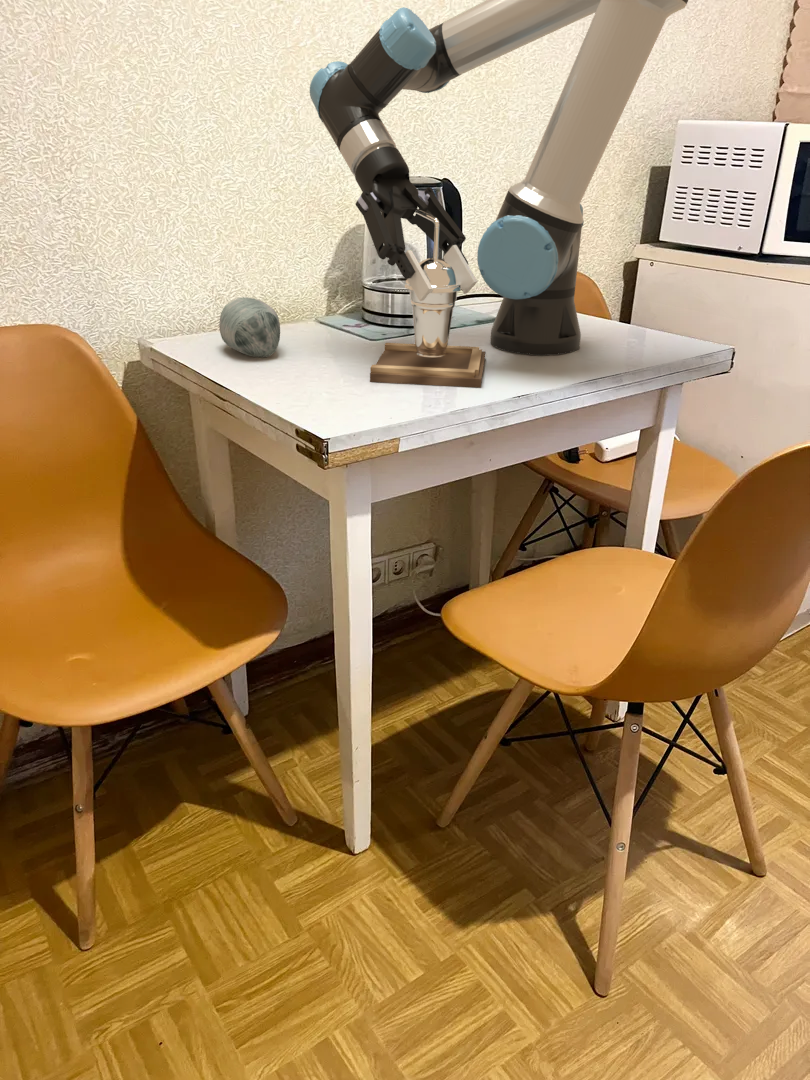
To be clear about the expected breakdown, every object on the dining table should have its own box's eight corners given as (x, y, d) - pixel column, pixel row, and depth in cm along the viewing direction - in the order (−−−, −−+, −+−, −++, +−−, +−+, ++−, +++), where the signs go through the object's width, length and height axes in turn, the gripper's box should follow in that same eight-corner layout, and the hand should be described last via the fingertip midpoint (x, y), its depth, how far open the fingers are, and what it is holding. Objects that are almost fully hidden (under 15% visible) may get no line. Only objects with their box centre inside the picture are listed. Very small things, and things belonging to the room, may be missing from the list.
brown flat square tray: (485, 359, 131) (485, 346, 130) (480, 387, 117) (481, 373, 116) (386, 354, 133) (386, 341, 132) (370, 381, 119) (369, 368, 118)
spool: (299, 338, 128) (263, 280, 124) (247, 371, 126) (210, 313, 123) (285, 339, 140) (252, 287, 137) (238, 369, 139) (204, 317, 136)
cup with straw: (405, 361, 119) (409, 214, 110) (399, 346, 127) (403, 208, 118) (463, 361, 120) (471, 215, 111) (453, 346, 128) (461, 209, 119)
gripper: (415, 179, 129) (484, 298, 126) (307, 183, 117) (381, 316, 114) (440, 143, 124) (513, 267, 121) (329, 143, 111) (407, 282, 108)
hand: (449, 291), depth 117 cm, fingers closed on cup with straw, 8 cm apart
